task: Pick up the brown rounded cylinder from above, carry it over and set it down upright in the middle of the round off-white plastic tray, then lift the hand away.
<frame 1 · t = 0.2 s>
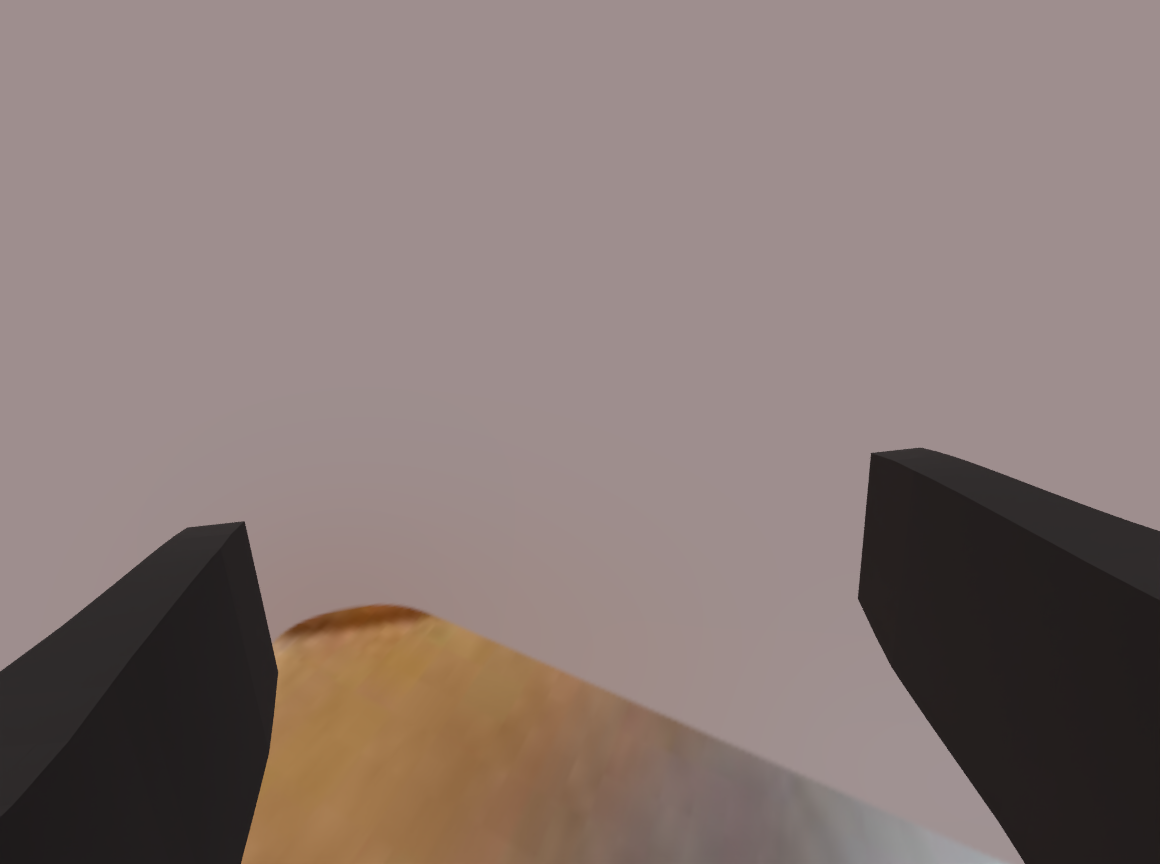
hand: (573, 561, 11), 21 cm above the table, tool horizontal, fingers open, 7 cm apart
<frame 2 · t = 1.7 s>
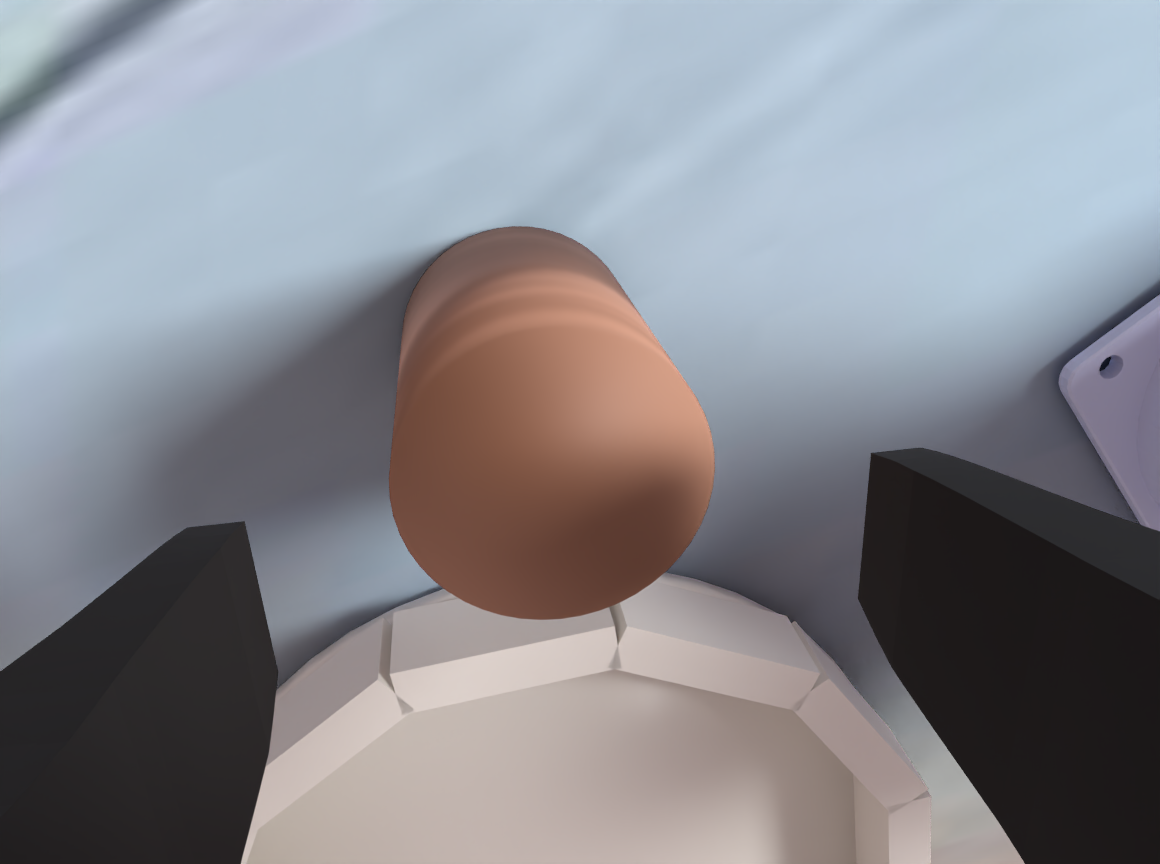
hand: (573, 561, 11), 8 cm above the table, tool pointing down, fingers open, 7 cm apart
brown rounded cylinder: (518, 341, 18), on the table
round tray: (558, 855, 24), on the table
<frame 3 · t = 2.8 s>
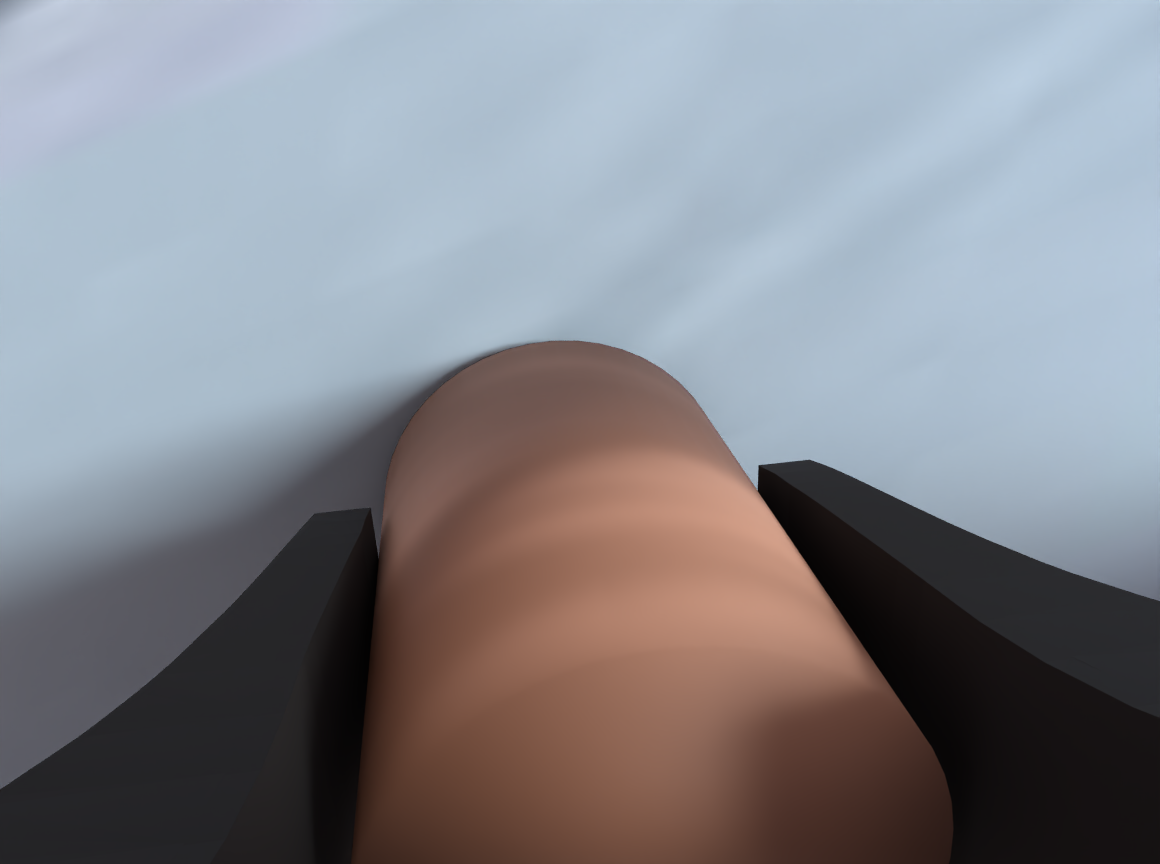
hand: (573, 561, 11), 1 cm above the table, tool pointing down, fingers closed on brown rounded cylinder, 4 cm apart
brown rounded cylinder: (558, 502, 12), on the table, touching gripper
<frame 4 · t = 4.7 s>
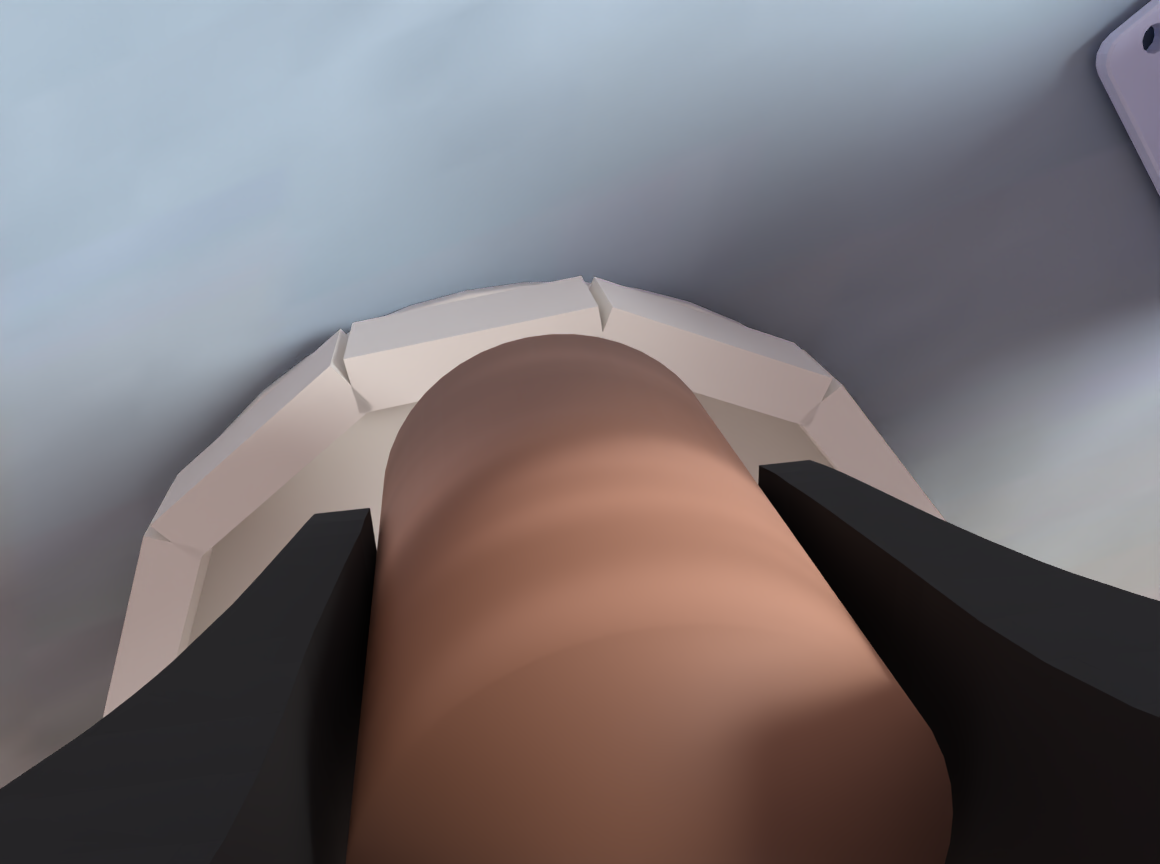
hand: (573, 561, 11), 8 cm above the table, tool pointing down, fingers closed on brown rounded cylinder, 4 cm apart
brown rounded cylinder: (556, 497, 12), point 7 cm above the table, touching gripper
round tray: (547, 644, 22), on the table
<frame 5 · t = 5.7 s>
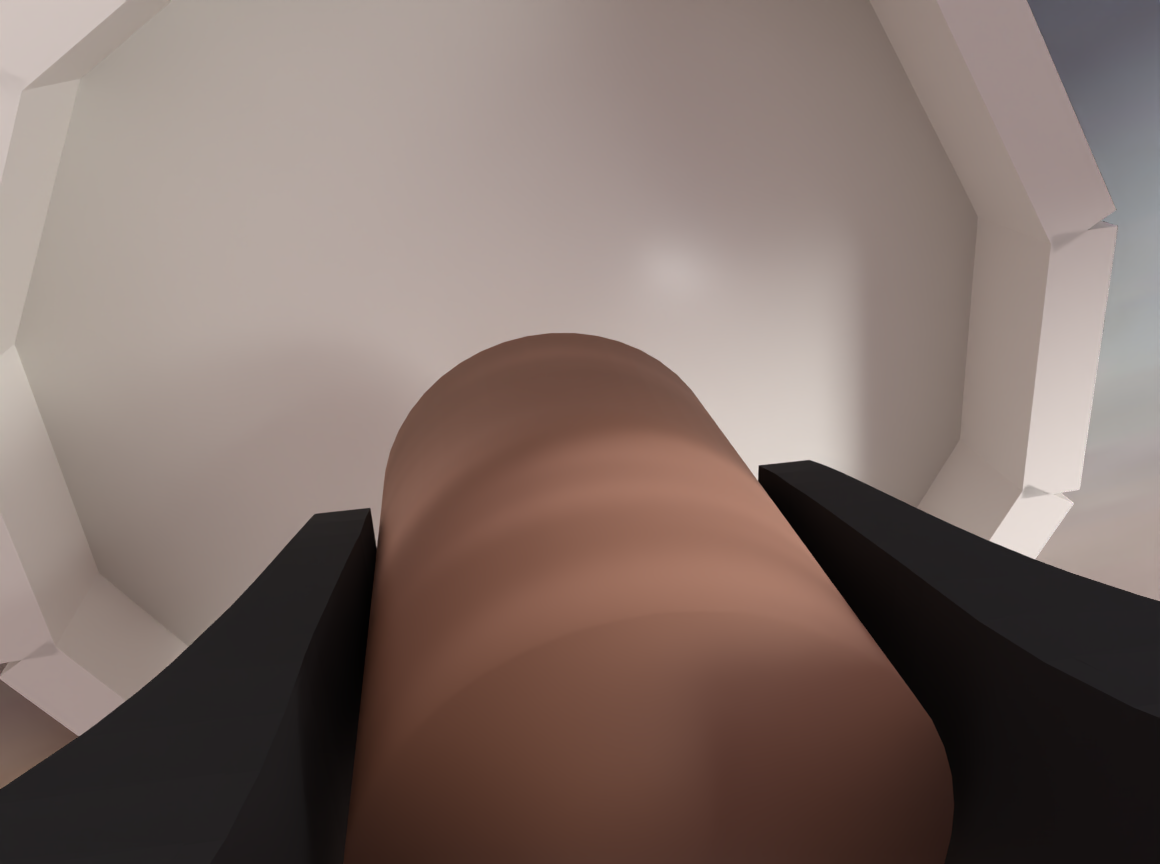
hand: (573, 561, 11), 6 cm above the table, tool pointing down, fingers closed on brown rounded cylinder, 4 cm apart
brown rounded cylinder: (557, 497, 12), point 4 cm above the table, touching gripper
round tray: (529, 383, 16), on the table
when the fingers open (4 cm above the table, at t = 6.5 s): brown rounded cylinder drops 2 cm, resting on round tray.
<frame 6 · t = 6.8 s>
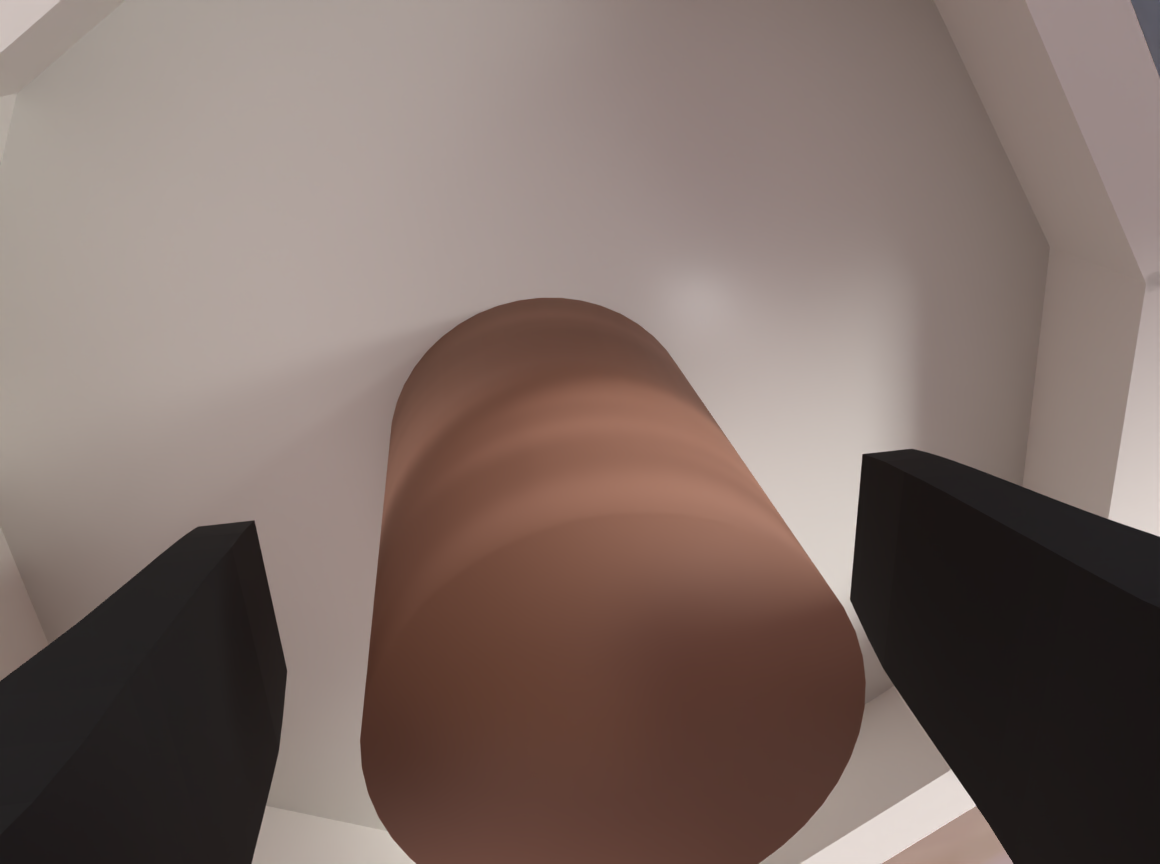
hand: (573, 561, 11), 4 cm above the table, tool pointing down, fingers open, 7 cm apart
brown rounded cylinder: (545, 446, 14), point 1 cm above the table, touching round tray
round tray: (540, 434, 14), on the table
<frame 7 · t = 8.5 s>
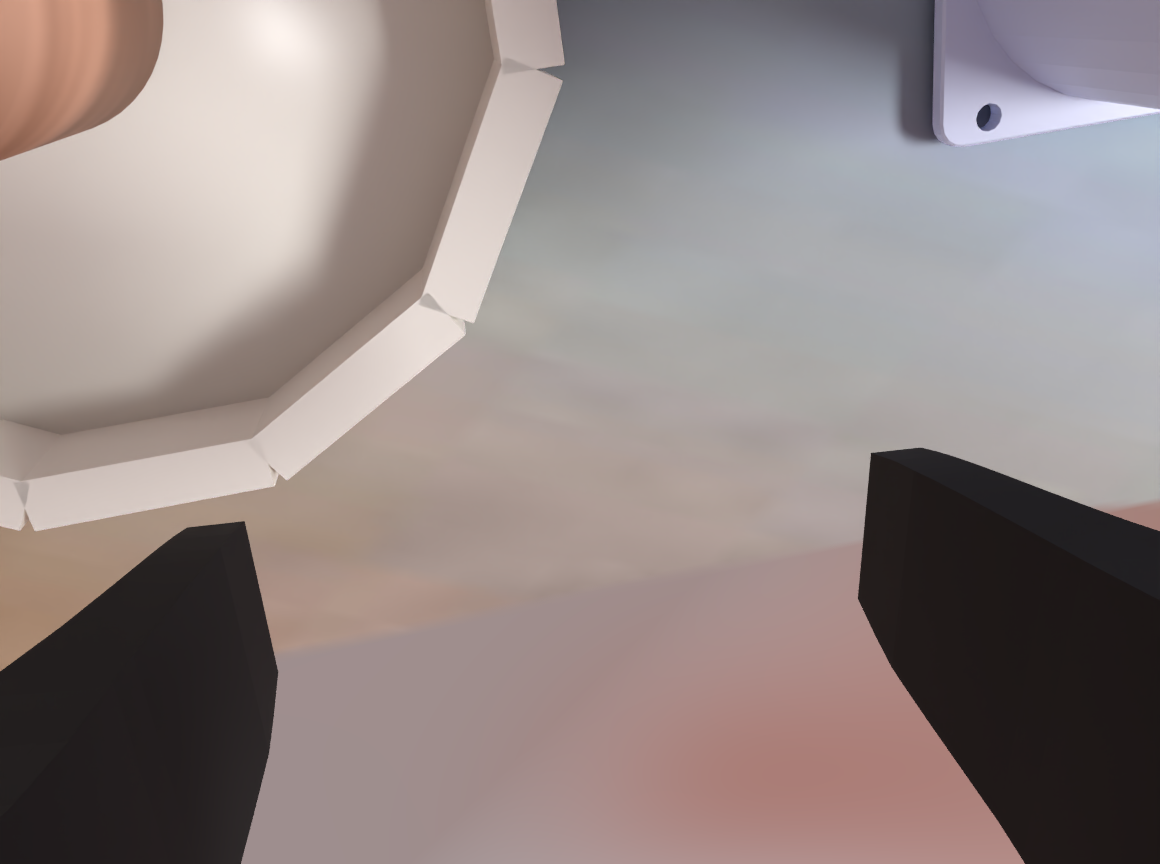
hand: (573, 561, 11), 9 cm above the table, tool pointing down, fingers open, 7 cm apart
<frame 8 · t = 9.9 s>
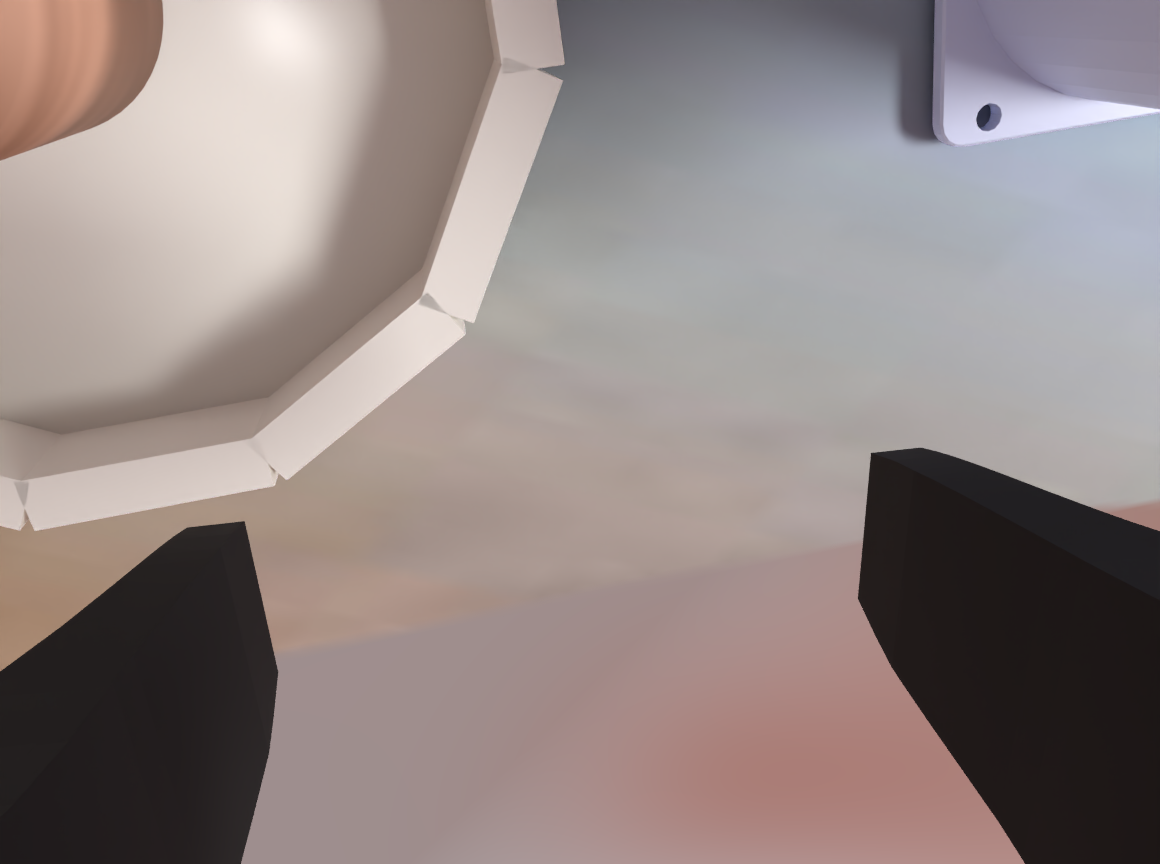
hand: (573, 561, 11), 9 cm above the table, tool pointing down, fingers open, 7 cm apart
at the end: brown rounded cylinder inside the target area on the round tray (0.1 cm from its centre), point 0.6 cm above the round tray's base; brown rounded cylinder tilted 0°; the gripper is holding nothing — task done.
